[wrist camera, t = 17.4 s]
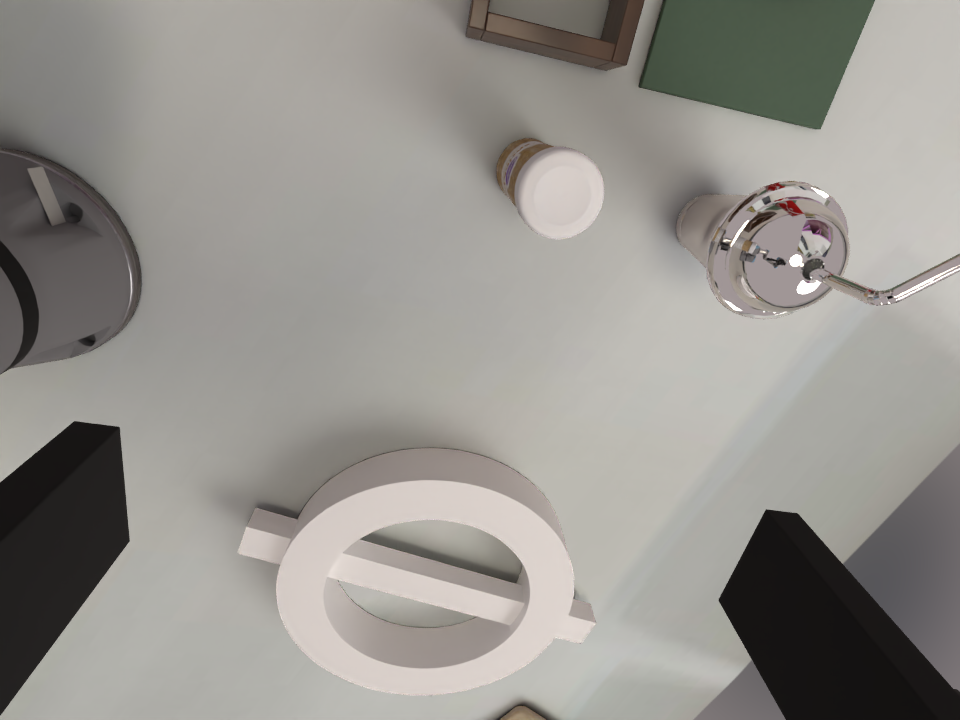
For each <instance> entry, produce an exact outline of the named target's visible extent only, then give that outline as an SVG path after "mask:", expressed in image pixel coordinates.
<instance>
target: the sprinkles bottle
mask: <svg viewBox="0 0 960 720" xmlns="http://www.w3.org/2000/svg"><path fill="white" fill-rule="evenodd" d="M497 180H498V183H499V186H500V188H501V190H502V191H503V192H504V193H505V194H506V195H507V196H508V198H509V199H510V200H511V202H512V203H513V204H514V206H515V207H516V208H517V210H518V212H519V214H520V216H521V218H522V219H523V220H524V222H525V223H526V224H527V225H528V226H529V227H530V228H531V229H532V230H533V231H534V232H536V233H537V234H539V235H541V236H543V237H546V238H550V239H566V238H570V237H573V236H576V235H578V234H580V233H581V232H583V231H584V230H586V229H587V228H588V227H589V226H590V225H591V224H592V223H593V222H594V220H595V219H596V217H597V216H598V214H599V212H600V210H601V207H602V204H603V200H604V182H603V178H602V175H601V172H600V170H599V169H598V167H597V166H596V164H595V163H594V162H593V161H592V160H591V159H590V158H589V157H588V156H586V155H585V154H583V153H581V152H579V151H577V150H574V149H571V148H567V147H555V146H551V145H548V144H544V143H543V142H541V141H539V140H536V139H532V138H524V139H521V140H517V141H515V142H513V143H511V144H510V145H509V146H508V147H507V148H506V149H505V150H504V151H503V153H502V154H501V156H500V158H499V160H498V163H497Z"/></svg>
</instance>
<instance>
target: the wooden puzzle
mask: <svg viewBox="0 0 960 720" xmlns="http://www.w3.org/2000/svg"><path fill="white" fill-rule="evenodd" d="M500 720H546V719H544V718H543V717H541V716H540V715H538V714H537V713H535V712H533V711H532V710H530V709H529V708H527V707H525V706H517V707H515V708H514V709H512V710H511V711H510V712H509V713H507V714H506V715H505V716H504V717H502V718H501V719H500Z"/></svg>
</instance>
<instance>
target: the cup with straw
mask: <svg viewBox="0 0 960 720" xmlns="http://www.w3.org/2000/svg"><path fill="white" fill-rule="evenodd" d="M676 234H677V238H678V240H679V242H680V243H681V245H682V246H683V247H684V248H686V250H688V251H689V252H690V253H691V254H692V255H693V256H694V257H695V258H696V259H697V260H698V261H699V262H700V263H701V264H702V265H703V266H704V267H705V268H706V269H707V279H708V282H709V285H710V288H711V290H712V292H713V294H714V295H715V297H716V298H717V300H718V301H719V302H720V303H721V304H722V305H723V306H724V307H725V308H727V309H729V310H730V311H732V312H734V313H736V314H739V315H742V316H746V317H750V318H756V319H772V318H778V317H782V316H786V315H789V314H791V313H793V312H796V311H798V310H800V309H802V308H806V307H808V306H810V305H812V304H814V303H816V302H818V301H819V300H821V299H822V298H824V297H825V296H826V295H827V294H828V293H829V292H830V291H832V289H833V288H834V289H836V290H838V291H840V292H843V293H845V294H847V295H849V296H852V297H854V298H856V299H858V300H860V301H863V302H864V303H868V304H870V305H876V306H878V305H888V304H893V303H897V302H899V301H901V300H903V299H905V298H907V297H909V296H911V295H913V294H915V293H917V292H919V291H921V290H923V289H925V288H927V287H929V286H931V285H933V284H935V283H937V282H939V281H941V280H943V279H945V278H947V277H949V276H951V275H953V274H955V273H957V272H959V271H960V254H958V255H956V256H954V257H952V258H950V259H948V260H946V261H944V262H942V263H940V264H938V265H936V266H934V267H932V268H930V269H928V270H926V271H924V272H922V273H920V274H919V275H917V276H915V277H913V278H911V279H909V280H907V281H905V282H903V283H901V284H899V285H897V286H895V287H893V288H891V289H888V290H881V291H879V290H874V289H871V288H869V287H866V286H864V285H861V284H859V283H857V282H854V281H852V280H849V279H847V278H844V277H842V276H843V274H844V272H845V269H846V267H847V264H848V260H849V256H850V243H849V238H848V227H847V222H846V217H845V215H844V213H843V211H842V209H841V207H840V206H839V204H838V203H837V202H836V201H835V200H834V198H833V197H831V196H830V195H828V194H827V193H826V192H824V191H823V190H821V189H819V188H818V187H816V186H813V185H811V184H808V183H805V182H796V181H787V182H778V183H774V184H771V185H768V186H764V187H762V188H760V189H758V190H756V191H754V192H752V193H750V194H749V195H725V194H704V195H701V196H698V197H696V198H694V199H693V200H691V201H690V202H688V203H687V205H686V206H685V207H684V208H683V209H682V211H681V212H680V214H679V217H678V219H677V223H676Z"/></svg>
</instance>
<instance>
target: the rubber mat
mask: <svg viewBox="0 0 960 720" xmlns="http://www.w3.org/2000/svg"><path fill="white" fill-rule="evenodd" d="M874 1H875V0H663V4H662V7H661V11H660V14H659V18H658V21H657V25H656V28H655V32H654V35H653V39H652V42H651V46H650V49H649V53H648V56H647V60H646V63H645V67H644V70H643V74H642V77H641V81H640V84H639V87H640V88H645V89H649V90H653V91H657V92H661V93H666V94H670V95H674V96H678V97H682V98H687V99H691V100H695V101H699V102H703V103H708V104H712V105H716V106H720V107H724V108H729V109H733V110H737V111H741V112H745V113H750V114H754V115H758V116H762V117H766V118H771V119H775V120H779V121H783V122H787V123H792V124H796V125H800V126H804V127H808V128H812V129H821V127H822V124H823V122H824V120H825V117H826V115H827V112H828V110H829V108H830V105H831V103H832V101H833V98H834V96H835V94H836V91H837V89H838V86H839V84H840V82H841V79H842V77H843V75H844V72H845V70H846V68H847V65H848V63H849V60H850V58H851V56H852V53H853V51H854V49H855V46H856V44H857V42H858V39H859V37H860V34H861V32H862V30H863V27H864V25H865V23H866V20H867V18H868V16H869V13H870V11H871V8H872V6H873V4H874Z"/></svg>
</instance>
